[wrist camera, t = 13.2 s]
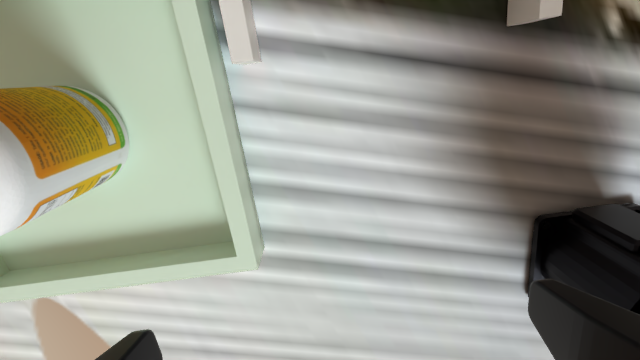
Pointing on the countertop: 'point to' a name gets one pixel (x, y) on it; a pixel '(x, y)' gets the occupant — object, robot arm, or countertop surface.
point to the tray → (134, 148)
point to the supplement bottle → (54, 149)
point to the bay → (523, 7)
